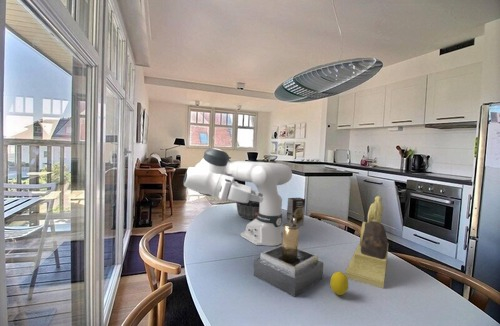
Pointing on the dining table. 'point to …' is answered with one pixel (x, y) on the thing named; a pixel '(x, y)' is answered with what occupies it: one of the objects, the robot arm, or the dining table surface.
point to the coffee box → (295, 210)
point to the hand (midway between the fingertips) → (262, 198)
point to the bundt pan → (248, 209)
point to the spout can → (290, 242)
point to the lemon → (339, 283)
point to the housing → (288, 270)
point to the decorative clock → (370, 250)
